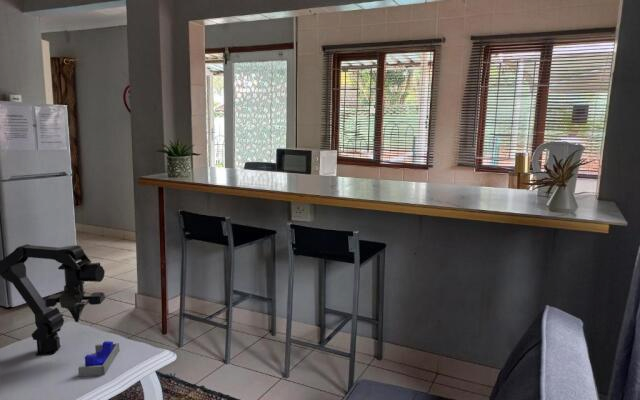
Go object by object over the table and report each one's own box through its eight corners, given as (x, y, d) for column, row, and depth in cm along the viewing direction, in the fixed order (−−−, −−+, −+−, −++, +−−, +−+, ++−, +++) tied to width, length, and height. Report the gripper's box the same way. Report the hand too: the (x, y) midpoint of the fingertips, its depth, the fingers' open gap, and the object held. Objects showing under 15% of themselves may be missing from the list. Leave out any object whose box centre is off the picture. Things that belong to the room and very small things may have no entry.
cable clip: (102, 356, 168) (101, 341, 167) (113, 357, 167) (112, 341, 166) (81, 373, 156) (80, 356, 155) (94, 373, 155) (93, 357, 155)
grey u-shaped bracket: (78, 376, 153) (78, 368, 153) (96, 352, 171) (95, 344, 170) (104, 374, 154) (104, 366, 154) (119, 350, 172) (119, 343, 171)
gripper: (36, 289, 157) (40, 332, 159) (93, 286, 160) (96, 329, 162) (50, 279, 168) (53, 320, 170) (104, 277, 171) (106, 317, 173)
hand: (77, 321), depth 169 cm, fingers closed
